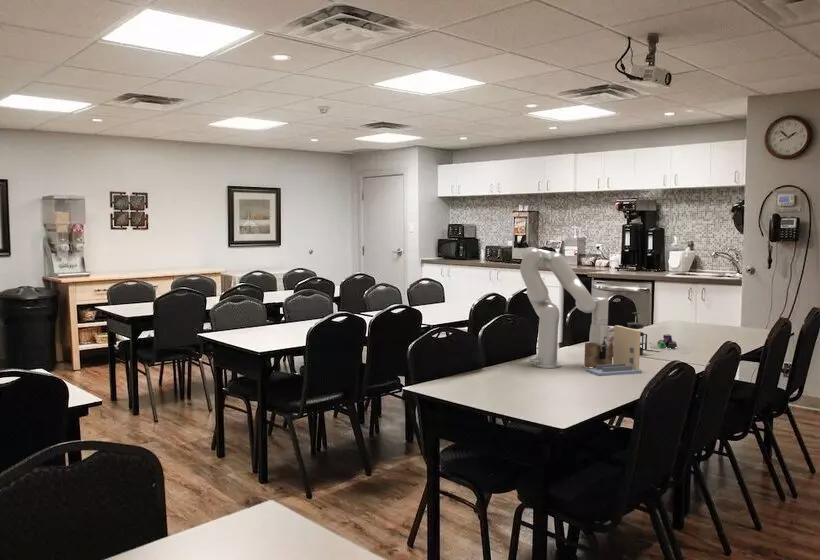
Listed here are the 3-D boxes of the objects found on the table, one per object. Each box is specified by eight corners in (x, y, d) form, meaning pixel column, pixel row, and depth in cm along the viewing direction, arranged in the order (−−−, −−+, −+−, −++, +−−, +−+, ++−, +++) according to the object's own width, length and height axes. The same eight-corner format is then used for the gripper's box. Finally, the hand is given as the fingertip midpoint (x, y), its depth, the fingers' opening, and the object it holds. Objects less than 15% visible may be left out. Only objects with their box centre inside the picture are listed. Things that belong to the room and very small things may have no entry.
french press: (621, 354, 360) (623, 312, 358) (628, 351, 367) (629, 310, 365) (642, 356, 352) (644, 314, 351) (649, 354, 360) (650, 312, 358)
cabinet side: (598, 375, 305) (599, 333, 304) (574, 367, 324) (576, 327, 323) (641, 373, 313) (643, 331, 311) (616, 364, 332) (617, 325, 330)
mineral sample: (692, 356, 358) (693, 339, 357) (626, 348, 376) (627, 333, 376) (701, 350, 387) (702, 335, 387) (640, 344, 405) (640, 329, 405)
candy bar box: (623, 357, 351) (624, 326, 350) (621, 358, 347) (623, 328, 346) (602, 355, 357) (603, 325, 355) (600, 356, 352) (601, 326, 351)
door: (587, 368, 322) (588, 344, 322) (584, 366, 325) (585, 343, 324) (613, 366, 327) (614, 342, 326) (609, 365, 330) (610, 341, 329)
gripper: (583, 319, 331) (582, 354, 333) (603, 324, 315) (602, 361, 316) (596, 319, 334) (595, 354, 335) (616, 324, 317) (615, 360, 319)
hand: (598, 357), depth 326 cm, fingers open, 6 cm apart
